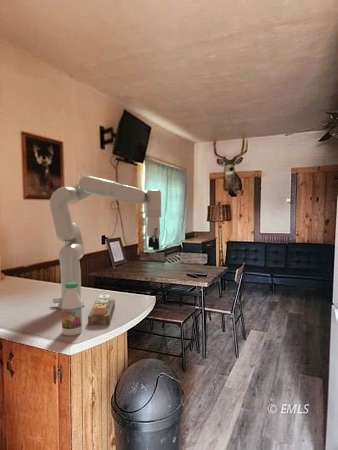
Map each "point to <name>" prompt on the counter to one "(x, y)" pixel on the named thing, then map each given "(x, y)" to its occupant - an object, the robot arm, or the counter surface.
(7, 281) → the counter surface
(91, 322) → the button board
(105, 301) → the button two
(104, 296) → the button one
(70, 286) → the milk bottle
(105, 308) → the button three
